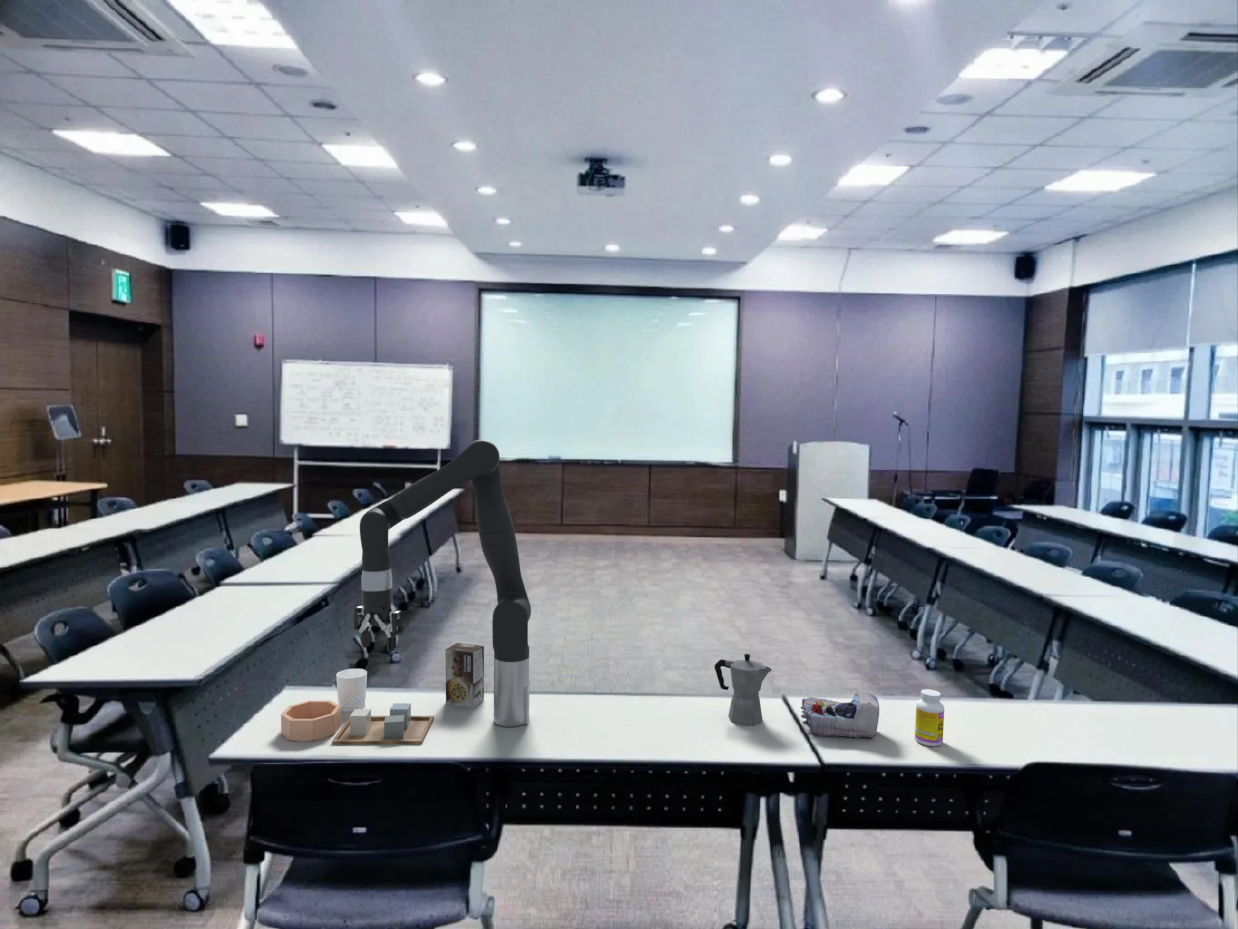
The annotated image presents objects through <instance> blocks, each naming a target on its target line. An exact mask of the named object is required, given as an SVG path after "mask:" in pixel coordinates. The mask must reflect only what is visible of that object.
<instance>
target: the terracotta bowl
mask: <svg viewBox="0 0 1238 929" xmlns="http://www.w3.org/2000/svg"><path fill="white" fill-rule="evenodd" d="M341 726H342V711H341V706H340V705H339V703H337V702H336V703H335V701H332V700H307V701H303V702H300V703H295V704H292V705H289V706H288V707H287V708H286V709H285V710H284V711H282V712H281V714H280V732H281V733H280V734H281V735H282V736H283V737H284V738H285V739H286V740H289V741H291V742H311V741H318V740H322V739H325V738H328V737H331V736H333V735H335V734H336V732H339V730H340V729H339V728H340V727H341Z"/></svg>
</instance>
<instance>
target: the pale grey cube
mask: <svg viewBox="0 0 1238 929" xmlns="http://www.w3.org/2000/svg"><path fill="white" fill-rule="evenodd" d="M371 716H372V709H371V708H363V709H355V710H354V711H353V712H351V714H350V715H349V718H350V735H367V734H368V732H369V731H370V729H371Z"/></svg>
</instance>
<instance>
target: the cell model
mask: <svg viewBox="0 0 1238 929" xmlns="http://www.w3.org/2000/svg"><path fill="white" fill-rule="evenodd" d="M800 709H801V714H800V718H802V719H806V720H803V721H801V722H802V725H807V726H808V728H809V730H810V732H811V733H812V734H813V735H817V736H822V737H827V738H834V737H835V738H836V737H846V738H847V737H848V738H857V739H859V738H862V737H863V738H864V737H866V738H867V737H869V738H875V737H876V735H877V730H878V726H879V718H880V704H879V700H878V698H877V696H876V695H874V694H872V693H871V692H869V691H868V690H867V691H866V690H864V689H863V688H857V689H856V690H855V692H854V695H853V696H852V700H851V701H849V702H840V701H838V700H832V699H826V698H818V697H814V696H813V697H812V696H808V697H806V698H802V699H801V706H800Z"/></svg>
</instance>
